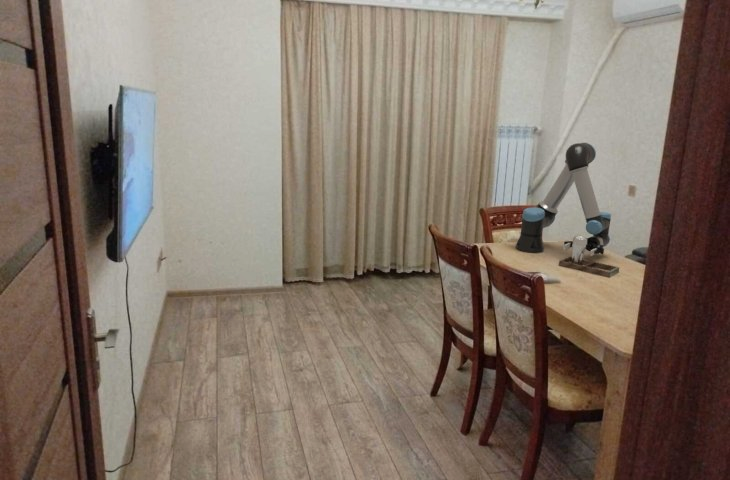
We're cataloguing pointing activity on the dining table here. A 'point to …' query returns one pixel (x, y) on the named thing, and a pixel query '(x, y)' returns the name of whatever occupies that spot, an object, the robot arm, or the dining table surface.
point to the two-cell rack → (590, 267)
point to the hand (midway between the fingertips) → (577, 250)
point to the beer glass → (578, 249)
